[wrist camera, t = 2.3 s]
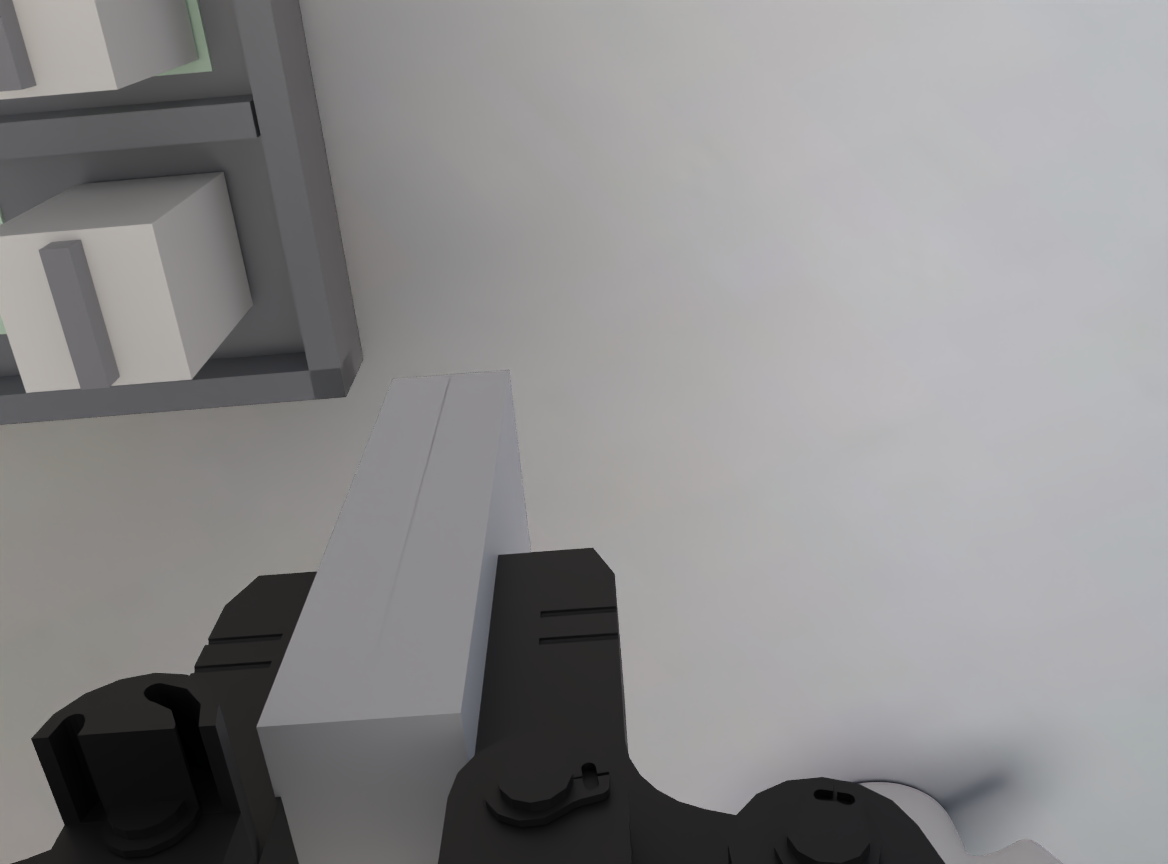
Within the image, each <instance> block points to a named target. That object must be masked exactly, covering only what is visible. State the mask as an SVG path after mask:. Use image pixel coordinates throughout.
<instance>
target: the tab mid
mask: <svg viewBox="0 0 1168 864" xmlns="http://www.w3.org/2000/svg"><path fill="white" fill-rule="evenodd" d="M196 60H198V55H197V51H196V46H195V42H194V37H193V33H192V28H191V24H190V19H189V15H188V10H187V6H186V1H185V0H0V100H2V99H13V98H25V97H36V96H48V95H60V94H71V93H83V92H94V91H106V90H117V89H120V88H123V87H125V86H128V85H131V84H134V83H136V82H139V81H142V80H144V79H147V78H150V77H153V76H155V75H158V74H161V73H163V72H166V71H169V70H172V69H174V68H177V67H180V66H182V65H185V64H188V63H190V62H193V61H196Z"/></svg>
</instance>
